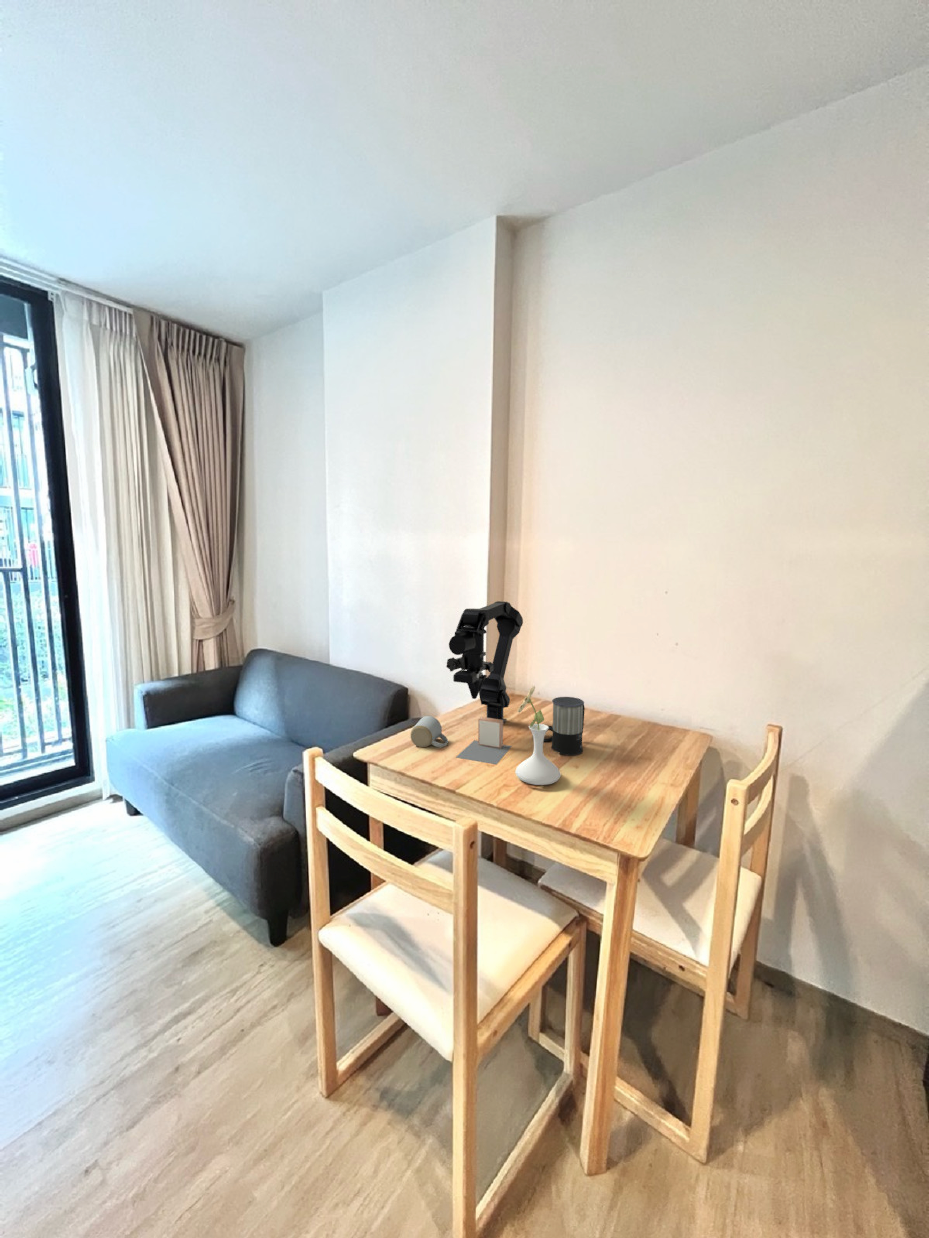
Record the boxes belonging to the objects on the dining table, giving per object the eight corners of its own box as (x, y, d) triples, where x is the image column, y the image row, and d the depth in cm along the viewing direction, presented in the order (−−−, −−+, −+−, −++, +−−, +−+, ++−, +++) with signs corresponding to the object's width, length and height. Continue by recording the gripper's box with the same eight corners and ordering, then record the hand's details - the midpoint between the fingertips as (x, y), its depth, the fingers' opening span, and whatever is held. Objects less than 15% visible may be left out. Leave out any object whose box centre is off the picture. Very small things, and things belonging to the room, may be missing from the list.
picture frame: (480, 742, 148) (480, 716, 147) (502, 745, 145) (503, 719, 144) (478, 744, 146) (478, 719, 145) (500, 748, 143) (500, 722, 142)
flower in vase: (530, 765, 133) (532, 675, 130) (568, 777, 126) (571, 682, 122) (502, 782, 123) (503, 685, 120) (542, 797, 116) (544, 693, 112)
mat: (474, 741, 150) (474, 740, 150) (511, 747, 145) (511, 746, 145) (455, 758, 137) (455, 757, 137) (496, 766, 132) (496, 764, 132)
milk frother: (581, 758, 138) (582, 707, 136) (525, 751, 143) (526, 701, 141) (585, 740, 151) (587, 693, 149) (535, 734, 156) (536, 689, 154)
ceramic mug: (408, 747, 145) (408, 722, 144) (418, 737, 153) (418, 714, 152) (442, 752, 142) (443, 726, 141) (451, 742, 150) (451, 717, 149)
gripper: (462, 642, 163) (462, 688, 165) (437, 652, 146) (437, 703, 148) (494, 645, 159) (493, 692, 161) (471, 655, 142) (471, 708, 144)
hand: (474, 698), depth 154 cm, fingers closed
